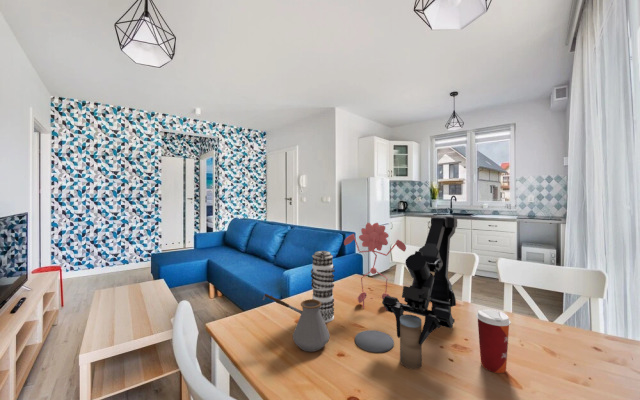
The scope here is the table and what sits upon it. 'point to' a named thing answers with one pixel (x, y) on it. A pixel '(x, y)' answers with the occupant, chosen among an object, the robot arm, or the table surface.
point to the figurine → (372, 240)
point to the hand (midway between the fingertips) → (408, 340)
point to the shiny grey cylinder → (410, 341)
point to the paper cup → (493, 339)
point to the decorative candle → (323, 283)
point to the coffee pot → (308, 325)
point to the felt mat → (374, 341)
